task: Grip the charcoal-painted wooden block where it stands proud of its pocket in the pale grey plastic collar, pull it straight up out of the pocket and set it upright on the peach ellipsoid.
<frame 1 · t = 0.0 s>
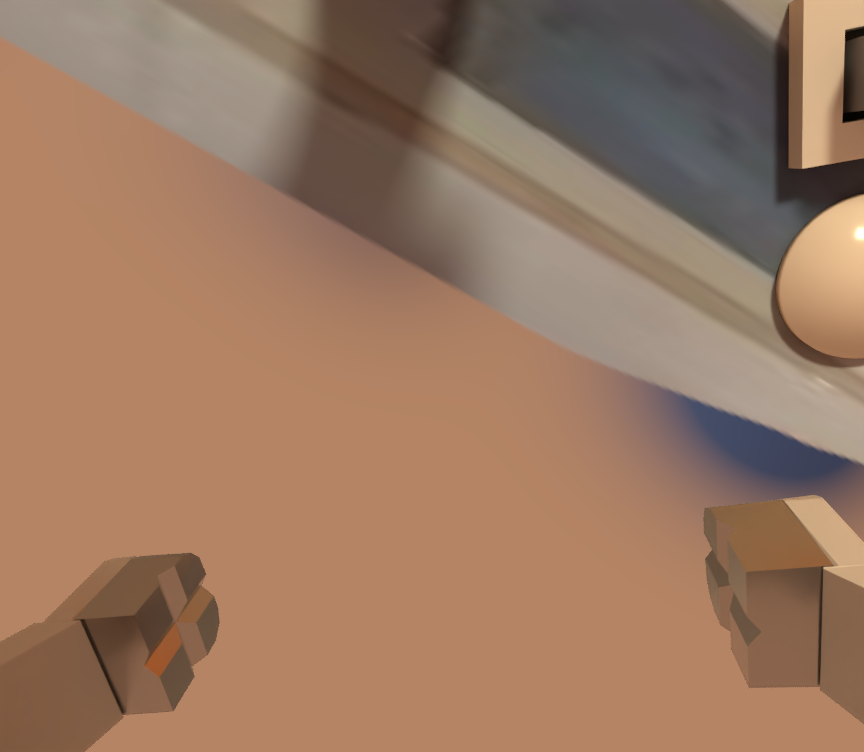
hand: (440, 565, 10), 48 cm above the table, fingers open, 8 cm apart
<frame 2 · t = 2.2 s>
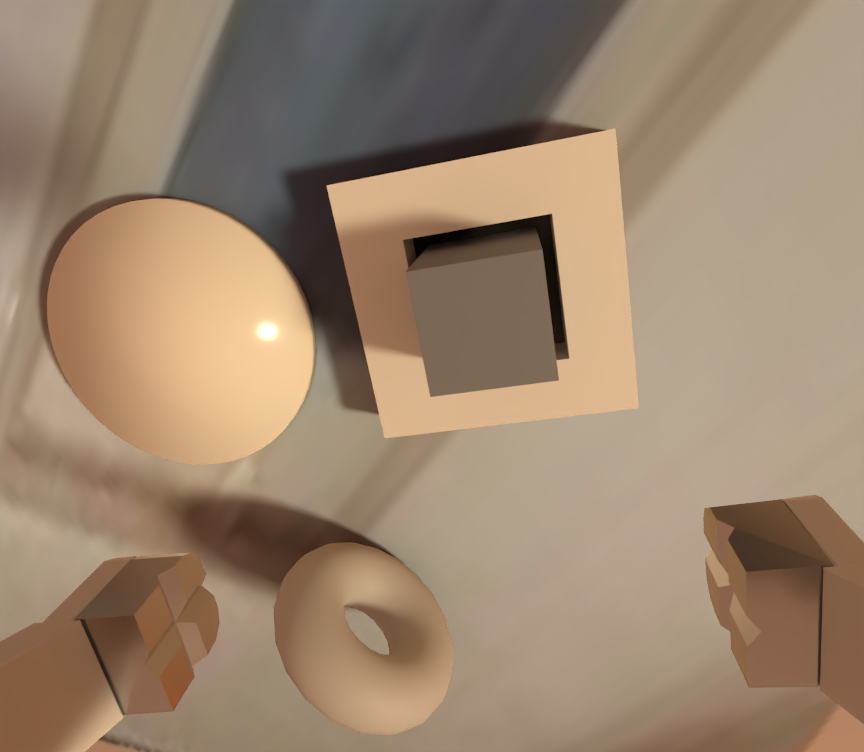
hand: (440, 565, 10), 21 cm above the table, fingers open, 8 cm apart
pocket collar: (489, 288, 29), on the table
donut: (386, 565, 36), on the table
peach ellipsoid: (186, 336, 32), on the table
block: (486, 305, 26), in the pocket collar
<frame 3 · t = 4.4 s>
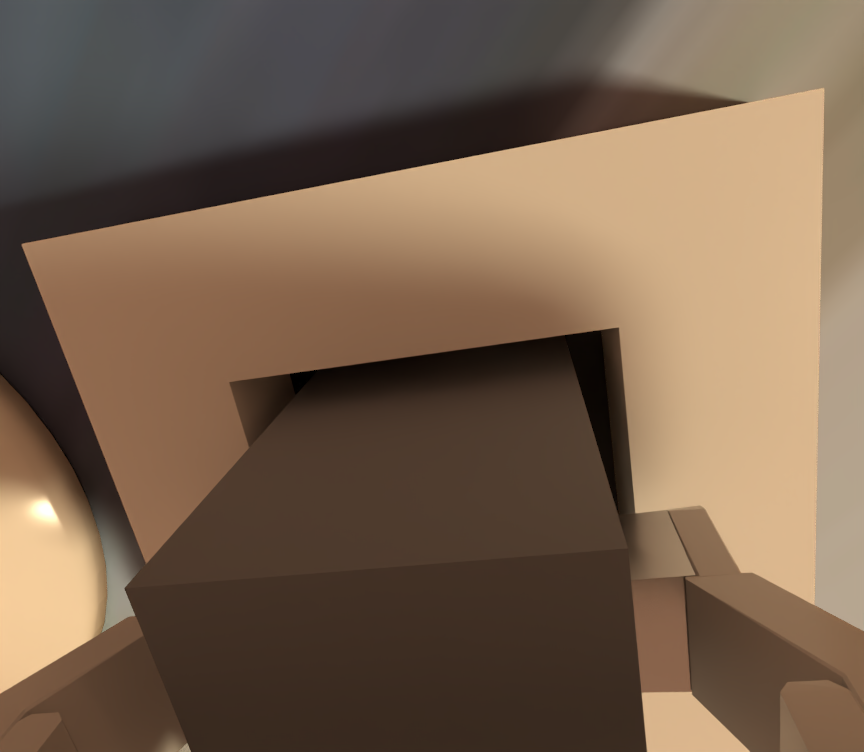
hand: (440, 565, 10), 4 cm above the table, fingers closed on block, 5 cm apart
pocket collar: (458, 461, 13), on the table
block: (441, 561, 10), in the pocket collar, touching gripper
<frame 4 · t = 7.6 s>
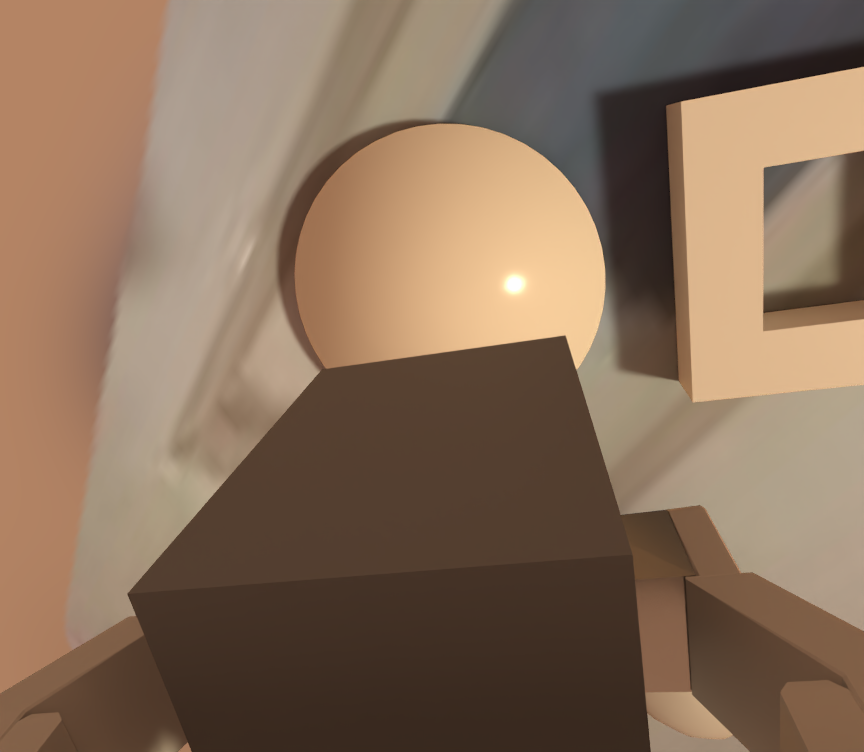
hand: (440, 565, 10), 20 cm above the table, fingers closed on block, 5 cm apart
pocket collar: (823, 231, 26), on the table
donut: (637, 548, 32), on the table
peach ellipsoid: (447, 286, 29), on the table
block: (443, 565, 10), point 20 cm above the table, touching gripper
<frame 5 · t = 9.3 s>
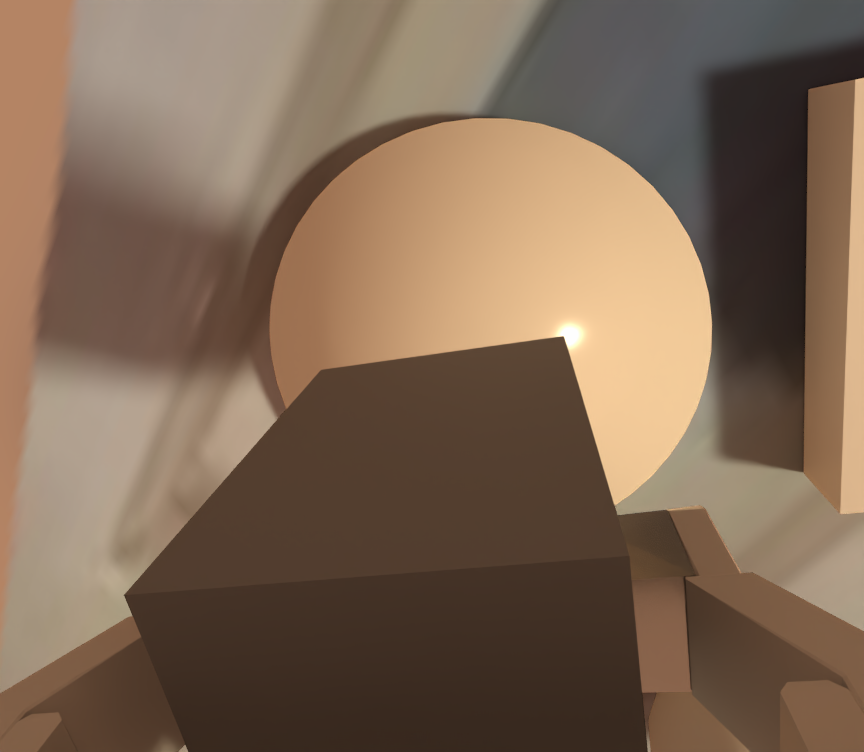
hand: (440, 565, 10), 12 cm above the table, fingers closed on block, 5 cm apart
donut: (732, 682, 24), on the table
peach ellipsoid: (482, 345, 21), on the table
block: (441, 565, 10), point 12 cm above the table, touching gripper
when the fingers open (7 cm above the table, at t = 10.7 s): block drops 2 cm, resting on peach ellipsoid.
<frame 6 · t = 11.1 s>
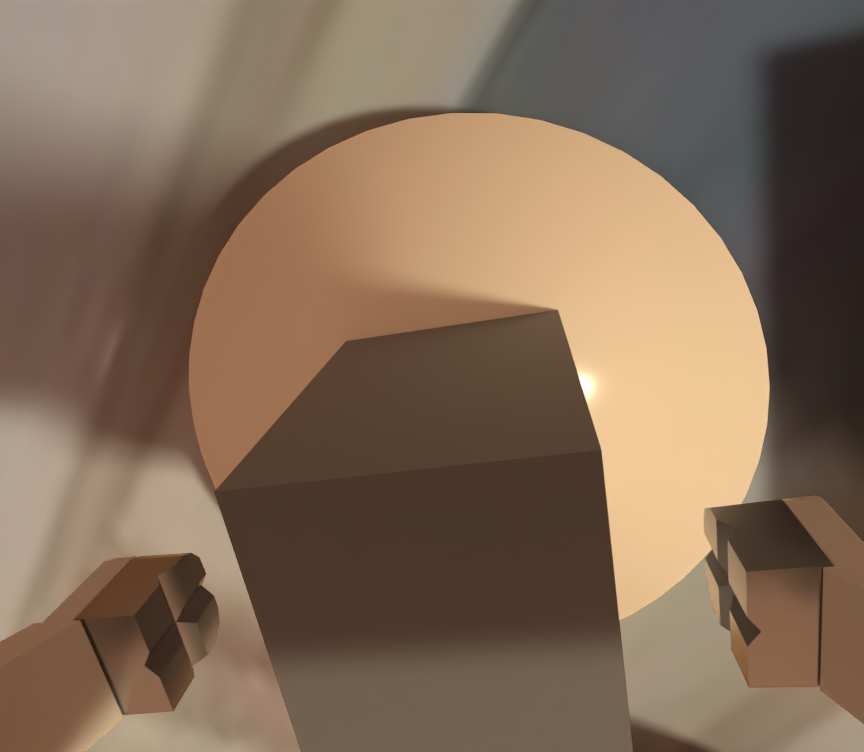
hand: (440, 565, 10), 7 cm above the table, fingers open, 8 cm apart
peach ellipsoid: (465, 407, 16), on the table
block: (454, 498, 12), on the peach ellipsoid, point 4 cm above the table
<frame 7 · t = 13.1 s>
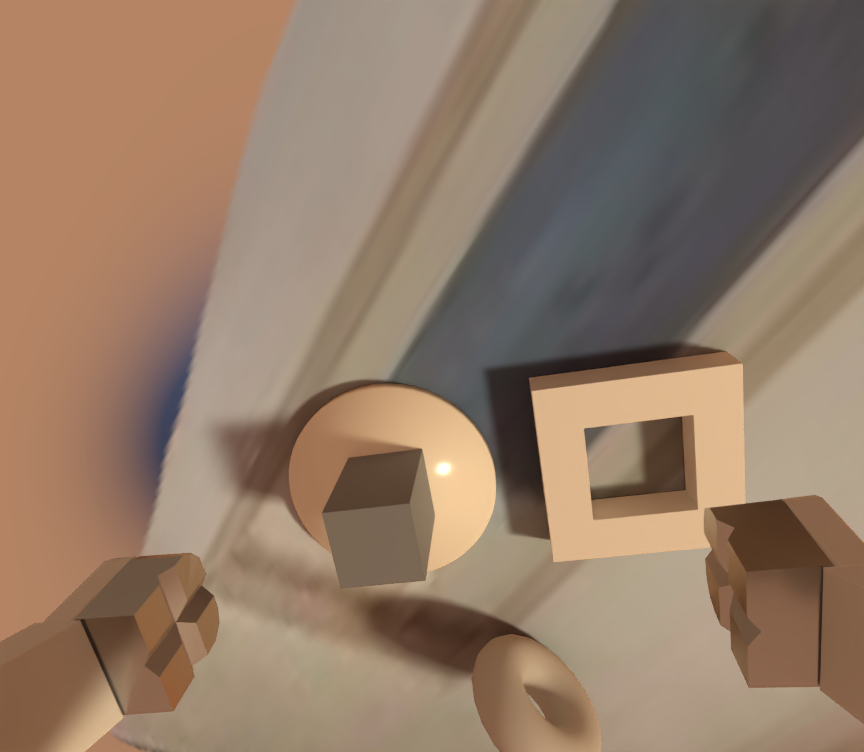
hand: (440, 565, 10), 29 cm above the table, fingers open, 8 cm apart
pocket collar: (632, 451, 40), on the table
donut: (531, 648, 46), on the table
peach ellipsoid: (393, 479, 42), on the table
block: (383, 514, 38), on the peach ellipsoid, point 4 cm above the table
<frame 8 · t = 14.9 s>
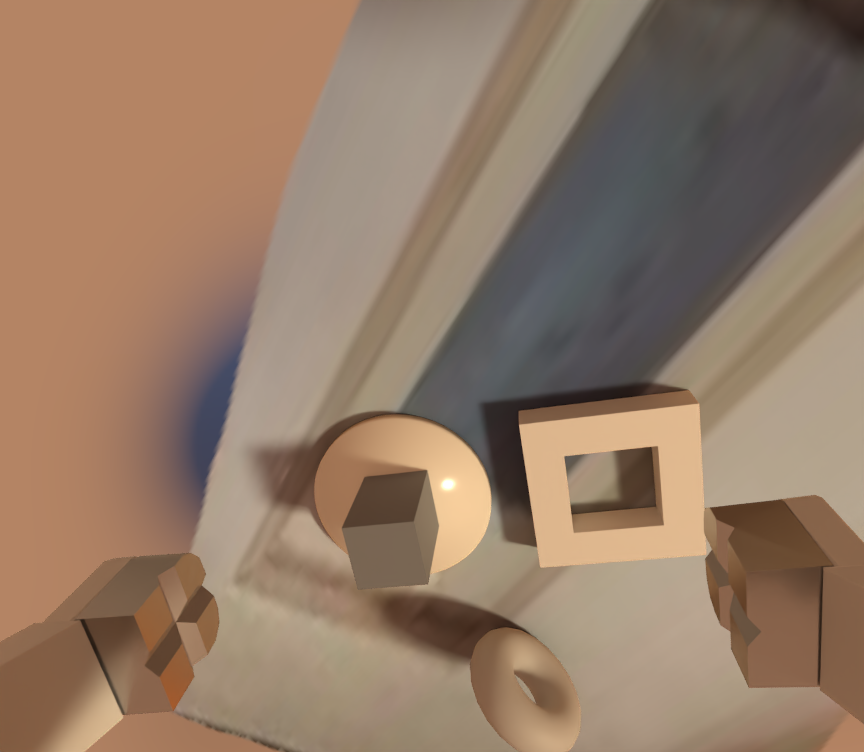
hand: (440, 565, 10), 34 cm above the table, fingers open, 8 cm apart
pocket collar: (609, 473, 46), on the table
donut: (524, 639, 53), on the table
peach ellipsoid: (403, 494, 49), on the table
block: (394, 527, 45), on the peach ellipsoid, point 4 cm above the table
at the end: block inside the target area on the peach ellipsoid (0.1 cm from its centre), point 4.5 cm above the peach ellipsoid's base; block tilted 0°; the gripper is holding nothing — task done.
